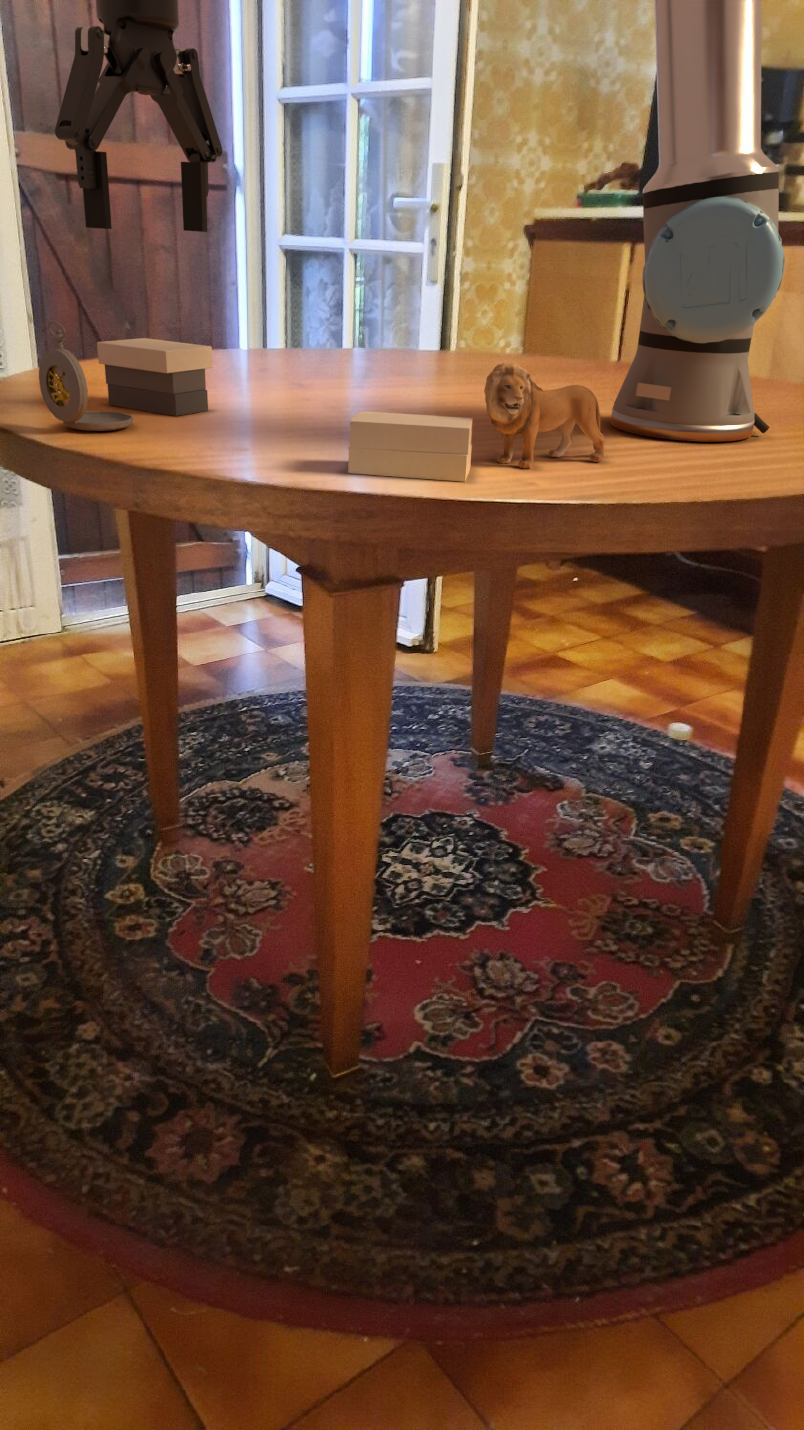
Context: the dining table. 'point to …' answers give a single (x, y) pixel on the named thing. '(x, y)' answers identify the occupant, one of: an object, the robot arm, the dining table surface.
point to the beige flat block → (155, 355)
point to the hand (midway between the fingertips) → (149, 230)
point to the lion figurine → (539, 412)
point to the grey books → (157, 390)
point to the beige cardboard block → (410, 446)
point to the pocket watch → (72, 391)
